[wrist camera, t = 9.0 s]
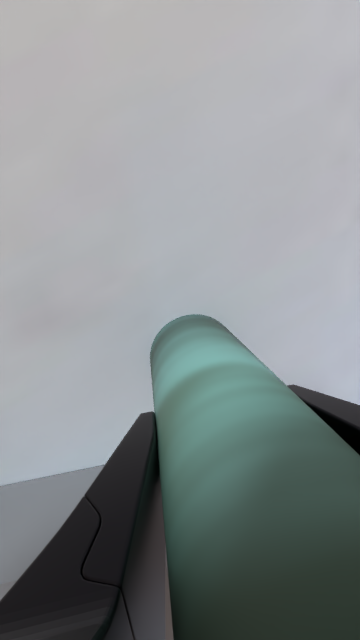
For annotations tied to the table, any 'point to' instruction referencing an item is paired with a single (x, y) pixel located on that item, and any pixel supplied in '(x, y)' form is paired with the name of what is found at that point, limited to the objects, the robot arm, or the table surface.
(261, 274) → the table surface
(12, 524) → the socket block
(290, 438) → the dowel
